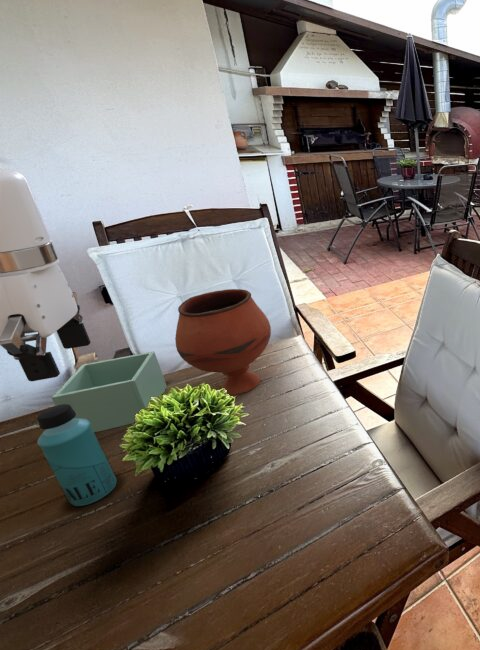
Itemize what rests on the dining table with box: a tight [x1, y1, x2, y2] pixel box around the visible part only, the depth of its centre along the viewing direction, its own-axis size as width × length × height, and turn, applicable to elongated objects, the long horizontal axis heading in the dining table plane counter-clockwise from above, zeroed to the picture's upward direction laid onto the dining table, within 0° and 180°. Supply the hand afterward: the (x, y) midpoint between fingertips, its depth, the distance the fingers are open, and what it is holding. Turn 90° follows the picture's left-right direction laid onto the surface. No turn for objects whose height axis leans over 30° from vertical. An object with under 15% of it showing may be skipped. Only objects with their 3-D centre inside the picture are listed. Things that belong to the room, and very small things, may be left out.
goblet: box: [174, 288, 272, 396], centre depth 100 cm, size 19×19×25 cm
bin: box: [51, 351, 168, 434], centre depth 94 cm, size 14×14×11 cm
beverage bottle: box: [36, 404, 117, 507], centre depth 70 cm, size 6×7×20 cm
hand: (62, 361), depth 63 cm, fingers open, 9 cm apart
